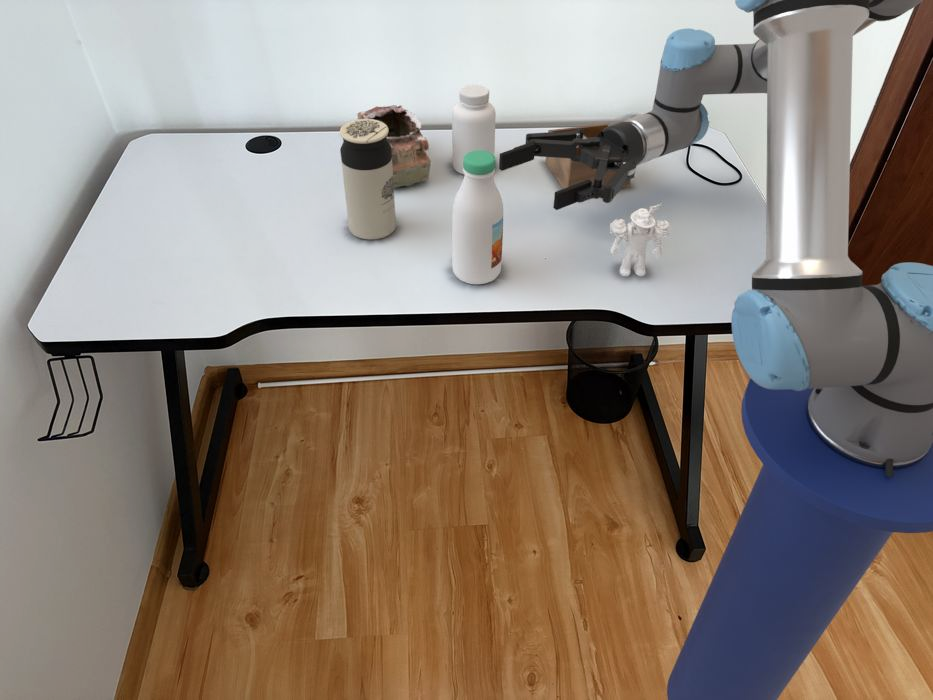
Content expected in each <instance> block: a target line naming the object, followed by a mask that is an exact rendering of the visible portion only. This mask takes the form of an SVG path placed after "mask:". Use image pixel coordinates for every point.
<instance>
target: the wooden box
mask: <svg viewBox="0 0 933 700" xmlns="http://www.w3.org/2000/svg"><path fill="white" fill-rule="evenodd" d="M611 125H612V124H610V123H609V122H608V123H600V124H599V123H598V124H591V125H583V126H574V127H565V128H564V127H563V128H556V129H549V130H548V131H547V132H564V131H573V130H576V129H583V130H584V136H585V137H587V138H590V137H597V136H598V135H599V134H600V133H601V132H602V130H603V129H604V128H606V127H608V126H611ZM581 146H582V145H581ZM581 146H578V148H577V150H576V155H579V151H580V148H581ZM545 164H546V166H547V168H548V169H549V170H550V173H552V175H553V177H554V178H555V180H556V181H557V182H558V184H559V185H560V187H561V188H562V189H564V188H567V187H570V186H572V185H575V184H578V183H580V182H583V181H585V180H588V179H589V180H590V181H592V185H593V184H594V178H595V176H596V172H597V169H591V168H590V167H589V166H588V165H586V164H584V163H582V162H575V161H571V159H570V158H555V157H545ZM615 173H616V172H613V171H611V170H607V173H606V176H605V179H604V183H603V186H606V184H607V183H608V182H609V181H610V179H611V178H612V177H613V176H614V174H615ZM631 181H632V179H630V180H628V181H626V183H625V184H624V185H623V187H622V188H621V189H626V188H630V187H631Z"/></svg>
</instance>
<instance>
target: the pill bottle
mask: <svg viewBox="0 0 933 700" xmlns="http://www.w3.org/2000/svg"><path fill="white" fill-rule="evenodd" d="M458 95H459V97H458V102H457V103H456V104H455V105H454V106H453V108H452V110H451V140H452V141H451V143H452V148H451V150H452V154H451V155H452V157H451V158H452V166H453V169H454V171H456V172H457V173H458V174H461V175H463V176H465V174H464V172H463V168H464V167H463V158H464V156H465V154H467V153H468V152H471V151H476V150H482V151H487V152H490V153H491V154H493V155H494V156H495V148H496V117H497V116H496V115H497V114H496V112H497V111H496V108H495V106H494V105H493V104H492V103H491V102H490V101H489V100H490V90H489V89H488V88H487V87H486V86H483V85H479V84H469V85H465V86H463V87H461V88H460V89H459V93H458Z"/></svg>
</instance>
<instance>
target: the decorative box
mask: <svg viewBox="0 0 933 700" xmlns="http://www.w3.org/2000/svg"><path fill="white" fill-rule="evenodd" d="M356 115H357V120H358V119H374V120H378V121H381V122H383V123H384V124H386V125H387V127H388V129H389V132H388V134H387V141H388V142H389V144H390V145H391V151H392V168H393V184H394V189H397V188H400V187H403V186H406V187H411V186H413V185H414V184H417V183H419V182H424V181H427V180H429V178H430V170H431V166H432V165H431V160H430V157H429V155H428V154H427V152H426V151H429V149H430V147H429V146H430V144H429V141H428V139H427V138H426V137H425V136H424V135H423V134H422V132H421V128H422V122H421V121H420V119H419V117H418V116H416V115H415V114H413V113H412V111H410V110H408V109H406V108H403V106H402V104H401V105H400V104H399V105H396V104H393V105H388V106H375V107H373V108H371V109H368V110H366V111H365V110H364V111H359V112H358V113H357V114H356Z"/></svg>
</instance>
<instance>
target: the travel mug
mask: <svg viewBox="0 0 933 700" xmlns="http://www.w3.org/2000/svg"><path fill="white" fill-rule="evenodd" d="M388 132H389V129H388V127H387V125H386V124H384V123H383V122H381V121H378V120H374V119H358V118H357V119H354V120H350V121H348V122H345V123H344V124H343V125H341V127H340V130H339V135H340V137H341V138H342V140H343V142H342V144H341V146H340V149H339V152H340V160H341V161H340V162H341V169H342V178H343V187H344V195H345V205H346V213H347V224H348V230H349V232H350V233H351V235H353V236H355V237H357V238H360V239H363V240H379V239H383V238H386V237H388V236H390V235H391V234H392V233H394V231H395V230H396V227H397V220H396V219H397V218H396V201H395V188H394V184H393V168H392V151H391V145H390V144H389V142H388V141H387V134H388Z"/></svg>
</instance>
